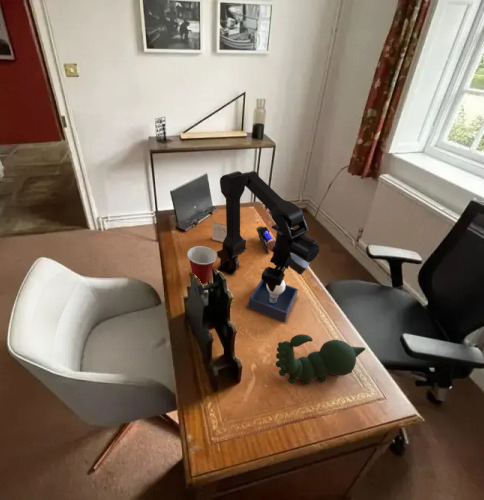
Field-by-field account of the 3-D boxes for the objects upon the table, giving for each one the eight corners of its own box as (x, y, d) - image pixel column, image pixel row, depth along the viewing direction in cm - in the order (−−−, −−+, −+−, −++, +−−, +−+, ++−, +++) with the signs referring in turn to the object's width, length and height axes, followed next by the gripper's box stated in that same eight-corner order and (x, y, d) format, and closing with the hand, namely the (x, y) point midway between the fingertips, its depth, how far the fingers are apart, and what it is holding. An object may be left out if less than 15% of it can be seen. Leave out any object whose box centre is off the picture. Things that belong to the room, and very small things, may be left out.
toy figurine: (281, 398, 85) (367, 380, 88) (287, 356, 74) (385, 337, 77) (270, 367, 93) (350, 352, 96) (274, 325, 82) (364, 309, 84)
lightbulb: (262, 295, 114) (266, 272, 108) (279, 295, 115) (284, 272, 108) (265, 308, 109) (270, 285, 102) (283, 308, 110) (289, 284, 103)
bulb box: (248, 307, 110) (249, 298, 107) (261, 285, 119) (263, 276, 117) (284, 322, 105) (286, 313, 102) (295, 297, 114) (298, 288, 112)
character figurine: (267, 236, 147) (277, 256, 135) (252, 236, 145) (261, 256, 134) (270, 222, 142) (282, 241, 131) (255, 222, 141) (265, 241, 129)
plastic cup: (218, 286, 118) (220, 261, 111) (189, 290, 116) (189, 264, 109) (212, 268, 126) (213, 243, 119) (186, 271, 124) (185, 246, 117)
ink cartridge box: (213, 236, 145) (214, 218, 139) (236, 242, 141) (238, 224, 136) (211, 239, 143) (212, 221, 137) (234, 245, 139) (236, 227, 134)
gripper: (301, 270, 88) (291, 309, 97) (317, 238, 101) (307, 275, 111) (263, 258, 92) (257, 296, 101) (283, 228, 105) (276, 264, 115)
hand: (276, 282), depth 107 cm, fingers open, 9 cm apart
